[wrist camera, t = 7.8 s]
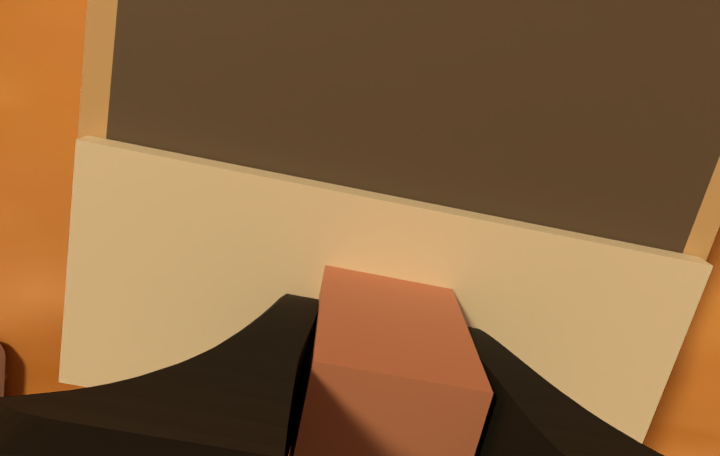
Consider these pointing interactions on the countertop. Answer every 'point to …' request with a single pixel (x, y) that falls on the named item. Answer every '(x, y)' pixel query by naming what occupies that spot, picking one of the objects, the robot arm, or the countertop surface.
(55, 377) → the countertop surface
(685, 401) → the countertop surface
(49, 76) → the countertop surface
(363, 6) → the carton
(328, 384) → the flap
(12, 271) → the countertop surface
